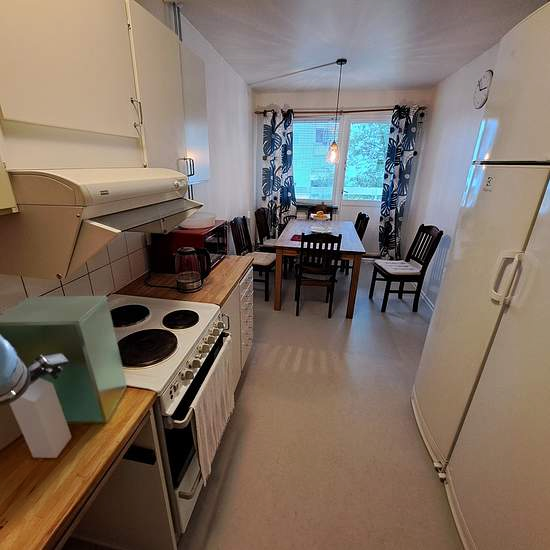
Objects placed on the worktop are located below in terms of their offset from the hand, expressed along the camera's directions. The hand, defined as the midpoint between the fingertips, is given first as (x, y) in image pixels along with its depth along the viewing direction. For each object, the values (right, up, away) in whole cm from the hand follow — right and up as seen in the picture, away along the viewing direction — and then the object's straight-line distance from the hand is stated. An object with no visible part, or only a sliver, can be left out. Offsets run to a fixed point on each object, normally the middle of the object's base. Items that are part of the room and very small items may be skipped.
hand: (20, 397), depth 64 cm
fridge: (-2, -13, +24) cm, 28 cm away
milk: (-1, -18, +11) cm, 22 cm away
